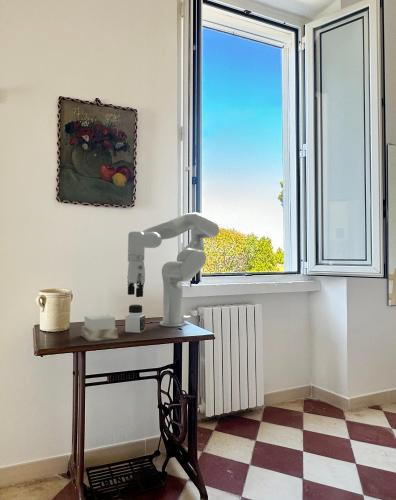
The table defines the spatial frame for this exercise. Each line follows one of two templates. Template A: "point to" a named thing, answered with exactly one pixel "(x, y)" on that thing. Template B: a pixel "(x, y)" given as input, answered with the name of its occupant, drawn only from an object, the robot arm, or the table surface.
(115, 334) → the tower base block
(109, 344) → the table surface
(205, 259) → the robot arm
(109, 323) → the tower top block
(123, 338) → the table surface
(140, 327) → the medicine bottle
